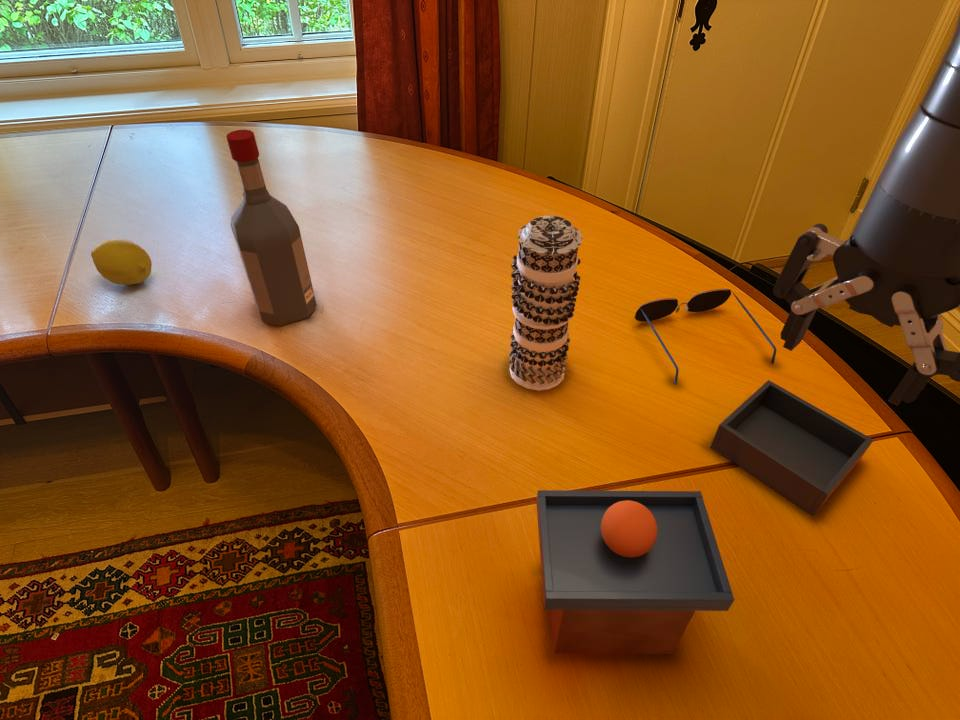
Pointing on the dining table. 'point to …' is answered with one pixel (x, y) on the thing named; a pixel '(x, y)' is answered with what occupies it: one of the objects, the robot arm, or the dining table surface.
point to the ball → (629, 528)
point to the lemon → (122, 261)
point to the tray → (629, 580)
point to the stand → (618, 631)
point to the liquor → (269, 242)
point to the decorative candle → (543, 301)
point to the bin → (790, 445)
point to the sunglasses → (694, 305)
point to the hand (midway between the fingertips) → (841, 370)
